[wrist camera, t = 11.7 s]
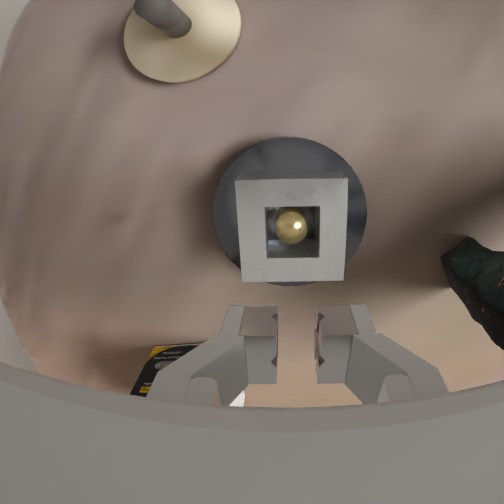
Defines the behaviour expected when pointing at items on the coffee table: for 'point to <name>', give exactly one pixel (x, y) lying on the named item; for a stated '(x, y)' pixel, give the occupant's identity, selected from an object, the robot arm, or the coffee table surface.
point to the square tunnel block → (307, 250)
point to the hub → (292, 217)
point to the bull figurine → (479, 284)
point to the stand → (181, 37)
